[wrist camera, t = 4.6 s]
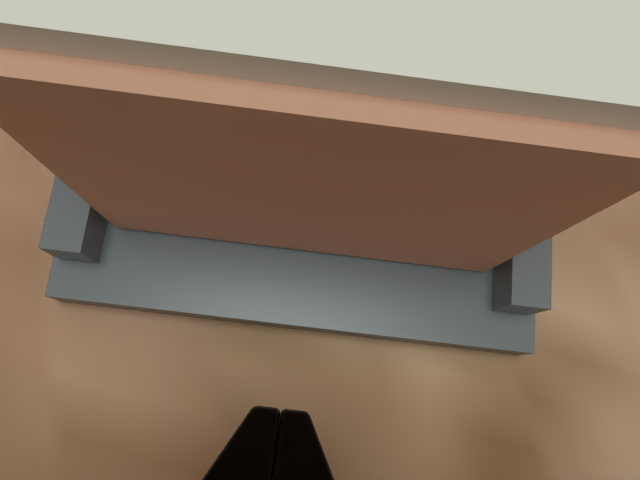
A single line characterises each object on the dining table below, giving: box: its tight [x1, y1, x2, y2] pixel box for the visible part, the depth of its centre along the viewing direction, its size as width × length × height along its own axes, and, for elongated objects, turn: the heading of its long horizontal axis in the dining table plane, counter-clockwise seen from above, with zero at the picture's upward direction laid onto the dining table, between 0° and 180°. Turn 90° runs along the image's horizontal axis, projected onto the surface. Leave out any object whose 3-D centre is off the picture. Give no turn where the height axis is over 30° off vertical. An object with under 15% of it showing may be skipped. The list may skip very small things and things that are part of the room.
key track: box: [38, 176, 552, 355], centre depth 17 cm, size 16×13×2 cm
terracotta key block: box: [0, 0, 640, 272], centre depth 12 cm, size 6×10×9 cm, turn 84°
